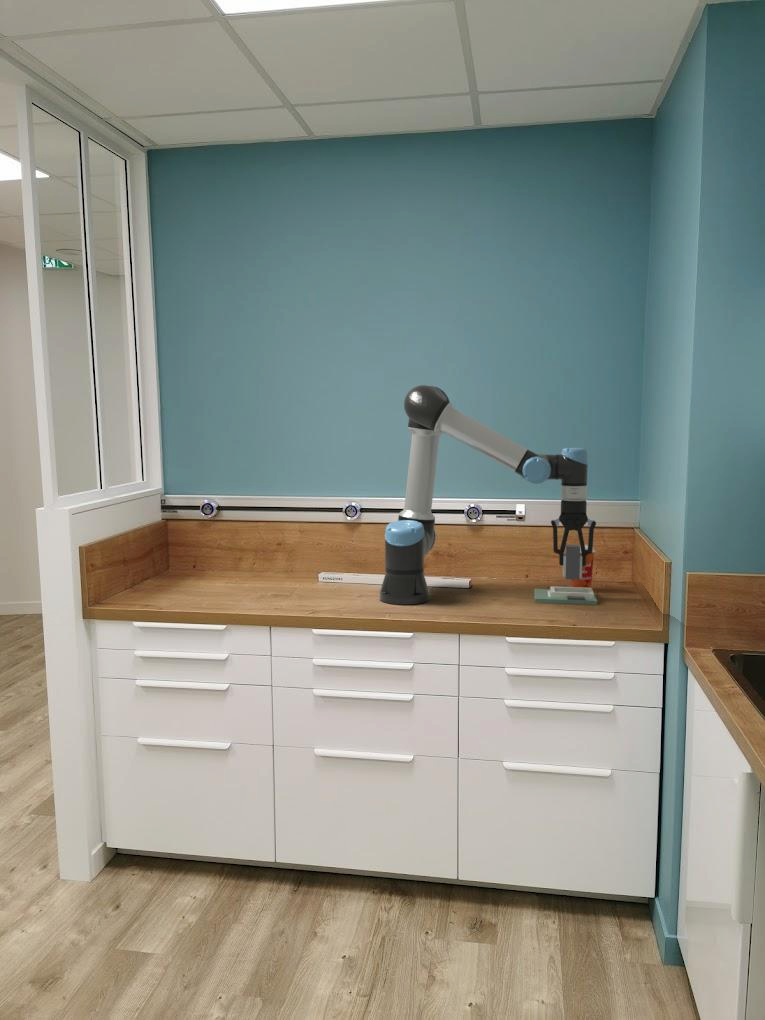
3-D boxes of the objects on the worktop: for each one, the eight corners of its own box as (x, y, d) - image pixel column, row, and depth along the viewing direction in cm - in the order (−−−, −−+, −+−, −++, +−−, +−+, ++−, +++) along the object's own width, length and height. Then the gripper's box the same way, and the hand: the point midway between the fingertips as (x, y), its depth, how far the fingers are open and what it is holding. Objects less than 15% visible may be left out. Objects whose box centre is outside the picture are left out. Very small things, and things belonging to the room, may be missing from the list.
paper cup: (566, 591, 259) (567, 547, 257) (572, 586, 265) (573, 544, 264) (591, 593, 255) (592, 549, 253) (596, 589, 262) (598, 545, 260)
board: (534, 602, 243) (535, 593, 243) (534, 592, 257) (534, 584, 257) (597, 604, 240) (597, 595, 240) (593, 594, 254) (593, 585, 254)
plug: (565, 579, 246) (566, 546, 245) (564, 576, 250) (565, 544, 249) (579, 579, 245) (580, 546, 244) (578, 576, 250) (579, 544, 248)
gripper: (545, 500, 242) (543, 577, 245) (604, 501, 239) (602, 579, 242) (544, 497, 250) (543, 573, 252) (601, 498, 247) (600, 574, 250)
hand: (572, 576), depth 247 cm, fingers closed on plug, 4 cm apart
